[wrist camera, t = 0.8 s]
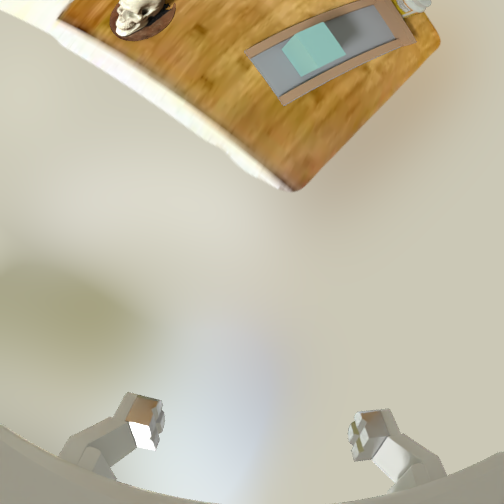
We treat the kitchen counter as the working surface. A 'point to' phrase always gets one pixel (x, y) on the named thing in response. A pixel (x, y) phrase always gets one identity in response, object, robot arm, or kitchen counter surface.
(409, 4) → the supplement bottle
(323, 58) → the block
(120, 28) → the skull
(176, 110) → the kitchen counter surface
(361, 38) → the chute
